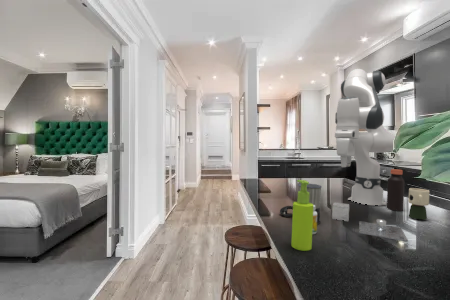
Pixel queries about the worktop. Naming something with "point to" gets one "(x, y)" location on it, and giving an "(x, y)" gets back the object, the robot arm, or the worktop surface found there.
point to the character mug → (418, 203)
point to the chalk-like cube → (340, 211)
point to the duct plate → (385, 234)
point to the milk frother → (313, 198)
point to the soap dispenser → (302, 220)
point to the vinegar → (395, 190)
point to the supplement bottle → (314, 221)
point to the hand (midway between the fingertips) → (345, 166)
